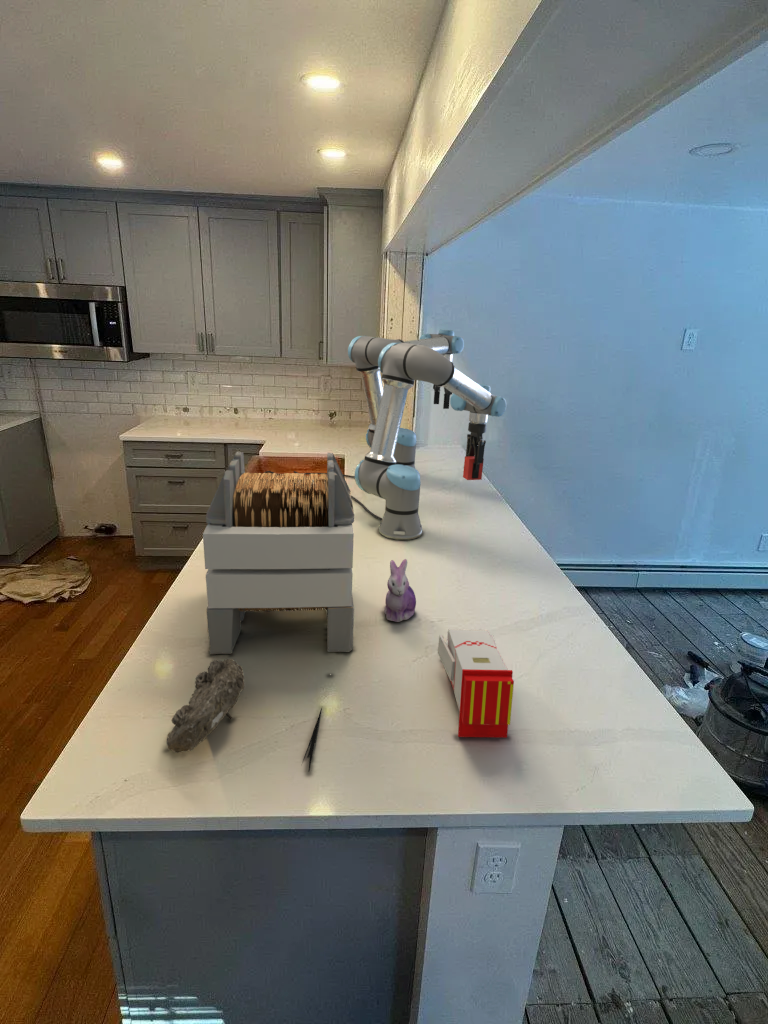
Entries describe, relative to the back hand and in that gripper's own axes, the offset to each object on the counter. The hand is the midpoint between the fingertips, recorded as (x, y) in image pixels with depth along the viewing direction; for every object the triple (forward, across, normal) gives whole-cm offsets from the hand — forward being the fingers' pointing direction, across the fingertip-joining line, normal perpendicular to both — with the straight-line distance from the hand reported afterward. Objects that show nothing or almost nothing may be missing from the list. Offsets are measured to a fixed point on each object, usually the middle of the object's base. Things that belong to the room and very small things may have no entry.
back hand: (441, 406), depth 285 cm
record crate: (+29, -140, +94) cm, 171 cm away
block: (+22, -53, +4) cm, 57 cm away
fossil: (+29, -174, +111) cm, 208 cm away
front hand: (+21, -53, +4) cm, 57 cm away
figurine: (+29, -144, +65) cm, 161 cm away
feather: (+29, -179, +91) cm, 203 cm away
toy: (+29, -178, +60) cm, 190 cm away
